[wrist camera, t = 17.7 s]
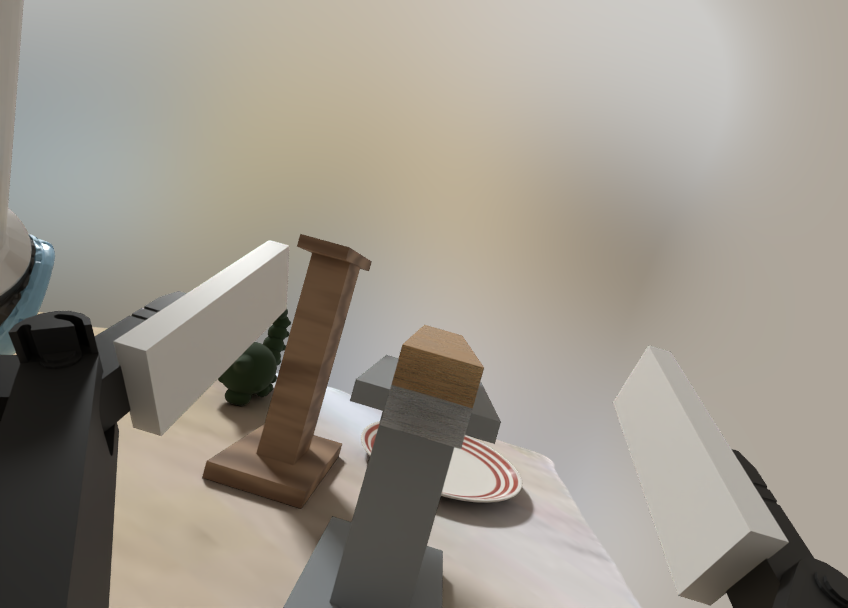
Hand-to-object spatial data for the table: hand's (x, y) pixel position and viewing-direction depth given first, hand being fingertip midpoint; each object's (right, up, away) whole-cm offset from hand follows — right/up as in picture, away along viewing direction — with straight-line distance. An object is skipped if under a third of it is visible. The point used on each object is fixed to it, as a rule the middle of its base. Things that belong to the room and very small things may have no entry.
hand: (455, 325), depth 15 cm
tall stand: (-20, -21, +39) cm, 49 cm away
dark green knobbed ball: (-35, -17, +62) cm, 73 cm away
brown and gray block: (-1, -6, +15) cm, 16 cm away
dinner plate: (+1, -27, +52) cm, 59 cm away
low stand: (-6, -25, +19) cm, 32 cm away
